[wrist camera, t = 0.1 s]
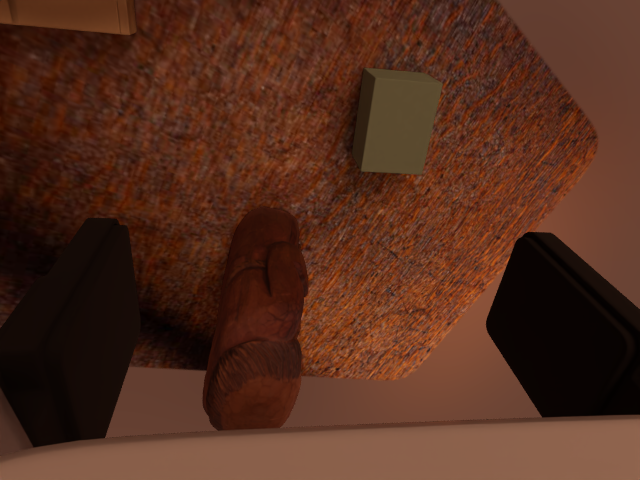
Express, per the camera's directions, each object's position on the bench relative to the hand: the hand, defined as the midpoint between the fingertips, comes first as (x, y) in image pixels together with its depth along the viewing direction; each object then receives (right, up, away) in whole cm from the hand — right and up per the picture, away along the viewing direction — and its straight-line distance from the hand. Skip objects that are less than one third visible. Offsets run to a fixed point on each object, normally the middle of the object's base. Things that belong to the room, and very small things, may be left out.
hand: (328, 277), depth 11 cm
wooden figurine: (-6, 0, +31) cm, 32 cm away
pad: (+5, +11, +26) cm, 28 cm away
